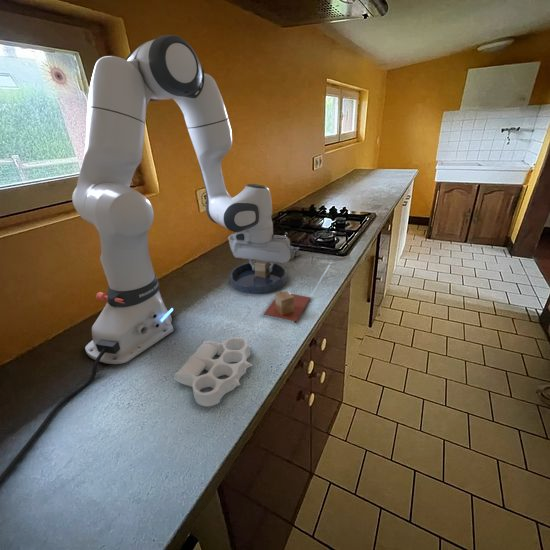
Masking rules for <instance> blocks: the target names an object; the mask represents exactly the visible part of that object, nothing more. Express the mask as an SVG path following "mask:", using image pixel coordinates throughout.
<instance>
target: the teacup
mask: <svg viewBox="0 0 550 550" xmlns="http://www.w3.org/2000/svg"><path fill="white" fill-rule="evenodd" d="M235 233H236V232H234V233H232V234H230V235H229V236H228V237H227V239H228V244H229V248H230V251H231V253H233V242H234V238H233V235H234V234H235Z"/></svg>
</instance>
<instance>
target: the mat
mask: <svg viewBox="0 0 550 550" xmlns="http://www.w3.org/2000/svg"><path fill="white" fill-rule="evenodd" d="M282 292H283V291H280V292H279V293H282ZM290 294H291V295H292V296H293V297H294V312H292V313H288V314H285V315H281V314H280V313H279V312H278V311H277V310H276V303H275V299H274V300H273V301H272V302H271V303H270V304H269V306H268V308H266V310H265V311H264V312H263V315H266V316H270V317H274V318H277V319H283V320H288V321H292V322H294V323H296V324H297V323H298V321H299V320H300V318H301V316H302V314H303V313H304V311H305V309H306V307H307V306H308V304H309V302H310V300H311V297H310V296H304V295H299V294H298V295H297V294H293V293H290Z"/></svg>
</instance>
